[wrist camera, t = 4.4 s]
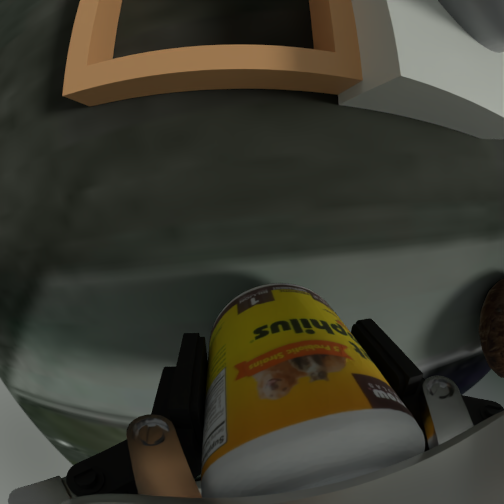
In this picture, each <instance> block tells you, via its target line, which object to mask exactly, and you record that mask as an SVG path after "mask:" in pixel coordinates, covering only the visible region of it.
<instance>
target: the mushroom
mask: <svg viewBox="0 0 504 504" xmlns="http://www.w3.org/2000/svg"><path fill="white" fill-rule="evenodd" d="M479 335H480V340H481V346H482V350H483V353H484V355H485V357H486V360H487V362H488V365H489V367H490V368H491V369H492V370H493V371H494V372H495V373H496V374H497V375H498V376H500V377H503V378H504V279H501V280H499V281H498V282H497V283H496V284H495V285H494V286H493V287H492V289H490V291H489V292H488V294H487V296H486V299H485V301H484V304H483V307H482V309H481V314H480V323H479Z"/></svg>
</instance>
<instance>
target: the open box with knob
mask: <svg viewBox="0 0 504 504" xmlns="http://www.w3.org/2000/svg"><path fill="white" fill-rule="evenodd" d="M121 4H122V0H80V3H79V6H78V10H77V14H76V18H75V22H74V26H73V30H72V35H71V40H70V45H69V50H68V56H67V62H66V69H65V77H64V85H63V95H62V96H64V97H66V98H69V99H72V100H74V101H77V102H80V103H82V104H85V105H87V106H95V105H99V104H104V103H108V102H113V101H118V100H124V99H129V98H135V97H142V96H148V95H156V94H164V93H173V92H183V91H195V90H211V89H280V90H297V91H309V92H319V93H328V94H336V95H338V103H339V105H342V106H349V107H356V108H363V109H369V110H375V111H380V112H385V113H391V114H395V115H400V116H405V117H409V118H413V119H417V120H421V121H425V122H429V123H433V124H436V125H440V126H443V127H447V128H450V129H453V130H457V131H460V132H463V133H466V134H469V135H472V136H475V137H477V138H480V139H504V0H309V6H310V15H311V24H312V34H313V45H314V49H307V48H298V47H288V46H274V45H207V46H193V47H182V48H173V49H165V50H158V51H151V52H145V53H140V54H134V55H129V56H124V57H120V58H115V59H113V52H114V44H115V37H116V31H117V25H118V19H119V14H120V9H121Z"/></svg>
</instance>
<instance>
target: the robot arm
mask: <svg viewBox="0 0 504 504" xmlns="http://www.w3.org/2000/svg"><path fill="white" fill-rule="evenodd" d="M351 334H352V335H353V336H354V338H355V339H356V340H357V342H358V343H359V344H360V345H361V347H362V348H363V350H364V351H365V352H366V354H367V355H368V356H369V358H370V359H371V360H372V362H373V363H374V364H375V366H376V367H377V368H378V370H379V371H380V372H381V374H382V375H383V377H384V378H385V380H386V381H387V382H388V384H389V385H390V386H391V388H392V389H393V390H394V391H395V392H396V394H397V395H398V397H399V398H400V400H401V401H402V402H403V404H404V405H405V406H406V408H407V409H408V410H409V411H410V412H411V413H412V415H413V417H414V419H415V420H416V422H417V424H418V425H419V427H420V428H421V430H422V432H423V435H424V439H425V450H424V452H423V453H421V454H419V455H417V456H414V457H412V458H409V459H407V460H405V461H402V462H399V463H397V464H394V465H392V466H389V467H386V468H383V469H381V470H378V471H375V472H372V473H369V474H365V475H362V476H359V477H355V478H352V479H348V480H345V481H341V482H337V483H333V484H328V485H324V486H319V487H315V488H310V489H304V490H299V491H293V492H286V493H279V494H271V495H261V496H249V497H230V498H202V495H201V481H196V482H195V480H194V478H196V477H197V476H198V475H200V474H201V468H202V445H203V427H204V411H205V395H206V381H207V368H208V360H207V352H206V344H205V337H200V336H199V333H184V335H183V339H182V344H181V348H180V352H179V357H178V361H177V366H176V367H164V369H163V372H162V375H161V379H160V383H159V386H158V390H157V394H156V398H155V402H154V406H153V409H152V413H151V415H144V416H140V417H138V418H136V419H135V420H133V421H132V422H131V423H130V424H129V426H128V428H127V440H125V441H123V442H121V443H119V444H117V445H115V446H113V447H111V448H109V449H107V450H105V451H103V452H101V453H99V454H96V455H94V456H92V457H90V458H88V459H86V460H83V461H81V462H79V463H77V464H75V465H74V466H72V467H71V468H70V470H69V471H68V473H67V476H66V477H64V478H61V477H60V476H56V477H53V478H50V479H47V480H44V481H41V482H38V483H34V484H31V485H28V486H24V487H20V488H17V489H15V490H13V491H12V492H11V493H10V495H9V499H8V503H9V504H504V409H503V407H502V406H501V405H500V404H498V403H496V402H493V401H489V400H483V399H478V398H473V397H468V396H463V395H461V394H460V392H459V390H458V387H457V386H456V384H455V383H454V382H453V381H452V380H450V379H448V378H446V377H442V376H433V377H430V378H428V379H426V380H425V379H424V378H423V377H422V376H423V373H422V372H421V371H420V370H419V369H418V368H417V367H416V366H415V364H414V363H413V362H412V361H411V360H410V359H409V358H408V357H407V356H406V355H405V354H404V353H403V352H402V350H401V349H400V348H399V347H398V346H397V345H396V344H395V343H394V342H393V341H392V340H391V339H390V338H389V337H388V336H387V335H386V334H385V333H384V331H383V330H382V329H381V328H380V327H379V326H378V325H377V324H376V323H375V322H374V321H373V320H372V319H364V320H358V321H357V322H356V324H354V325H353V326H352V330H351Z"/></svg>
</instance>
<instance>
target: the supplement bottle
mask: <svg viewBox="0 0 504 504" xmlns="http://www.w3.org/2000/svg"><path fill="white" fill-rule="evenodd" d="M424 450H425V439H424V435H423V432H422V430H421V428H420V427H419V425H418V424H417V422H416V420H415V419H414V417H413V415H412V413H411V412H410V411H409V410H408V409H407V408H406V406H405V405H404V404H403V402H402V401H401V400H400V398H399V397H398V395H397V394H396V392H395V391H394V390H393V389H392V388H391V386H390V385H389V384H388V382H387V381H386V380H385V378H384V377H383V375H382V374H381V372H380V371H379V370H378V368H377V367H376V366H375V364H374V363H373V362H372V360H371V359H370V358H369V356H368V355H367V354H366V352H365V351H364V350H363V348H362V347H361V345H360V344H359V343H358V342H357V340H356V339H355V338H354V336H353V335H352V334H351V333H350V331H349V330H348V329H347V327H346V326H345V325H344V323H343V322H342V321H341V320H340V318H339V317H338V316H337V314H336V313H335V312H334V311H333V309H332V308H331V307H330V306H329V305H328V303H327V302H326V301H325V300H324V299H323V298H321V297H320V296H319V295H318V294H316V293H315V292H313V291H311V290H309V289H307V288H305V287H302V286H298V285H294V284H287V283H272V284H266V285H262V286H258V287H255V288H252V289H250V290H247V291H245V292H243V293H241V294H240V295H238V296H237V297H235V298H234V299H233V300H232V301H231V302H229V303H228V304H227V305H226V306H225V307H224V309H223V310H222V311H221V313H220V314H219V316H218V317H217V319H216V321H215V323H214V325H213V328H212V332H211V336H210V343H209V356H208V368H207V381H206V395H205V411H204V427H203V445H202V468H201V495H202V498H230V497H249V496H261V495H271V494H279V493H286V492H293V491H299V490H304V489H310V488H315V487H319V486H324V485H328V484H333V483H337V482H341V481H345V480H348V479H352V478H355V477H359V476H362V475H365V474H369V473H372V472H375V471H378V470H381V469H383V468H386V467H389V466H392V465H394V464H397V463H399V462H402V461H405V460H407V459H409V458H412V457H414V456H417V455H419V454H421V453H423V452H424Z"/></svg>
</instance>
